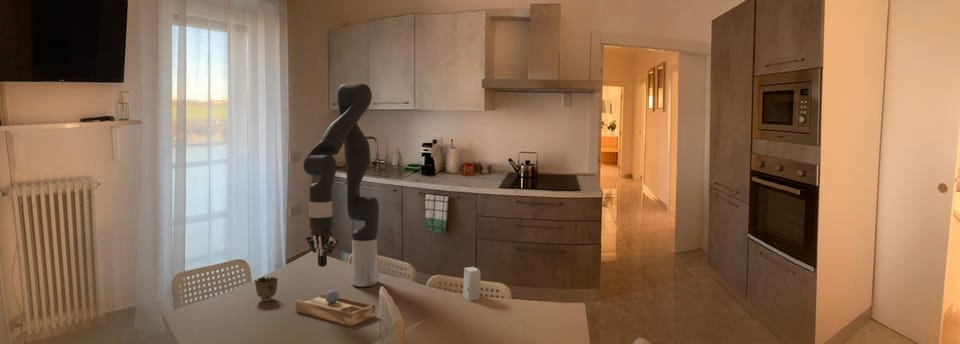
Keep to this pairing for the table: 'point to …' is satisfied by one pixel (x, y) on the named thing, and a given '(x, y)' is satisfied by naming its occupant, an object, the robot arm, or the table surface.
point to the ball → (331, 296)
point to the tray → (337, 310)
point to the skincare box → (471, 283)
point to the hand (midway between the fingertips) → (322, 266)
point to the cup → (266, 288)
